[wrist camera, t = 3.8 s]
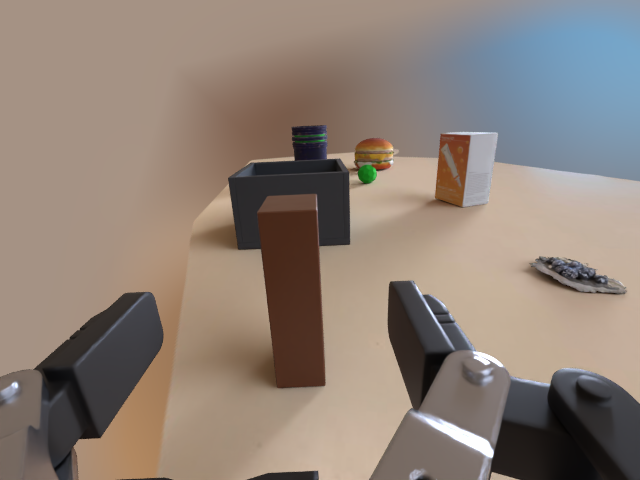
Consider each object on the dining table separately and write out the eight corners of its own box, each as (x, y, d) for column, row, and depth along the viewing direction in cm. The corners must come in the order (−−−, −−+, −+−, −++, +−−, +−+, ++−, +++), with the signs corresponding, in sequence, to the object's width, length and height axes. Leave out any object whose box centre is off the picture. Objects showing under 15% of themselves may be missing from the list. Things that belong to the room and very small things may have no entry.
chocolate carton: (277, 388, 21) (256, 212, 17) (282, 348, 25) (267, 195, 21) (325, 386, 21) (316, 209, 17) (324, 346, 25) (316, 193, 21)
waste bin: (238, 249, 45) (227, 177, 41) (257, 217, 59) (250, 162, 56) (350, 244, 45) (349, 172, 41) (341, 214, 59) (340, 158, 56)
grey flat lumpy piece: (544, 257, 38) (547, 242, 38) (634, 279, 32) (640, 262, 32) (520, 275, 34) (523, 258, 34) (619, 304, 28) (625, 285, 28)
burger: (398, 166, 112) (399, 136, 109) (385, 172, 101) (386, 139, 98) (362, 165, 119) (363, 137, 115) (347, 171, 108) (346, 139, 104)
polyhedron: (356, 181, 89) (356, 164, 87) (374, 180, 89) (374, 163, 87) (359, 185, 84) (359, 166, 83) (378, 184, 84) (378, 165, 83)
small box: (434, 199, 67) (439, 133, 62) (459, 195, 69) (466, 131, 64) (462, 207, 60) (470, 134, 55) (489, 203, 62) (499, 132, 57)
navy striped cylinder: (333, 177, 97) (331, 125, 92) (321, 183, 88) (319, 126, 83) (303, 177, 100) (300, 126, 95) (289, 182, 92) (284, 127, 87)
